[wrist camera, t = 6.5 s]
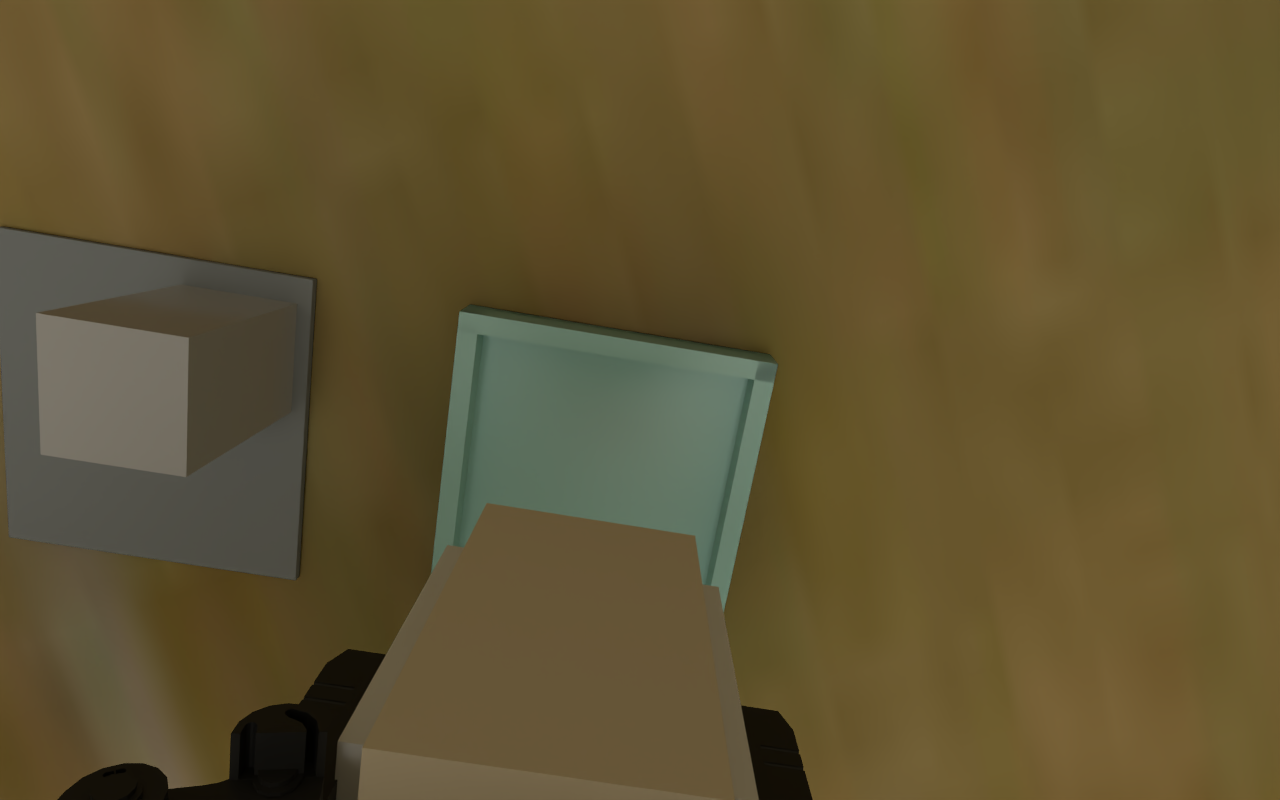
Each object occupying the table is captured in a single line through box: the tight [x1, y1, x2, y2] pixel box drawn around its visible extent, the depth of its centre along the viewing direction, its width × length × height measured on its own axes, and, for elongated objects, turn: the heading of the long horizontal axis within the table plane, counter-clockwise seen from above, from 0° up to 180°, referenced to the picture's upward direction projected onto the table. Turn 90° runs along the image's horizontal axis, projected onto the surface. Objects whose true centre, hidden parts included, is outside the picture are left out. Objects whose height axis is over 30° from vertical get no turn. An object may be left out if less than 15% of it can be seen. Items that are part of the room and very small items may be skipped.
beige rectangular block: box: [358, 503, 735, 800], centre depth 14 cm, size 5×5×8 cm
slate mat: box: [0, 227, 317, 580], centre depth 34 cm, size 13×14×1 cm
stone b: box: [36, 284, 297, 477], centre depth 29 cm, size 5×5×8 cm
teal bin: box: [431, 305, 778, 613], centre depth 34 cm, size 13×14×2 cm
